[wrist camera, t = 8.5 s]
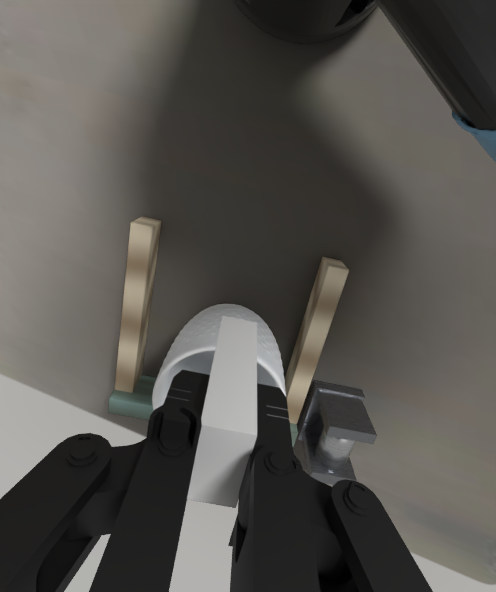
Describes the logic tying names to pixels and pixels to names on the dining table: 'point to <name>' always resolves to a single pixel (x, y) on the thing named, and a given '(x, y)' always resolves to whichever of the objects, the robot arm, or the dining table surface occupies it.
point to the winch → (333, 430)
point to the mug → (202, 343)
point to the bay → (135, 316)
